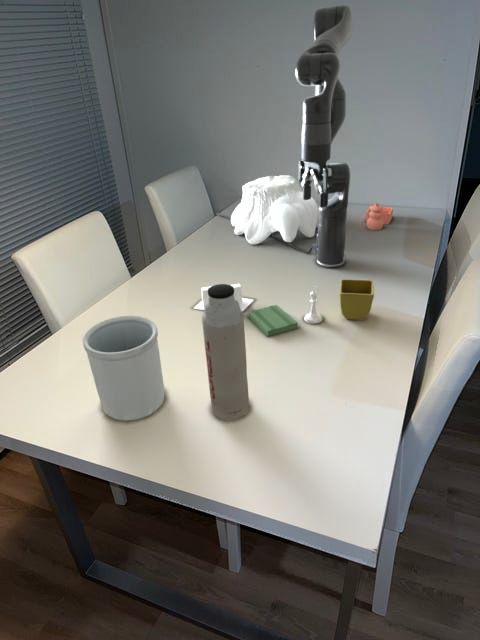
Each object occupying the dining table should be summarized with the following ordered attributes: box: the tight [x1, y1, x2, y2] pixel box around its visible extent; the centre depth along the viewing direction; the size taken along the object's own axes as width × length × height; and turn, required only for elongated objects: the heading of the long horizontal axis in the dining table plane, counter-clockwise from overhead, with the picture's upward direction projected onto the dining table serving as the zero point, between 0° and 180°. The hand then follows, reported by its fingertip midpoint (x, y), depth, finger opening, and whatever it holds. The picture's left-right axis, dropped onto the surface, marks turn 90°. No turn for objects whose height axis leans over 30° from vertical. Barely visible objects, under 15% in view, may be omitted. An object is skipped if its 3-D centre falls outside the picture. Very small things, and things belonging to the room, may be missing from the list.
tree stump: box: [230, 174, 319, 245], centre depth 197 cm, size 40×37×23 cm
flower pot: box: [339, 278, 375, 321], centre depth 132 cm, size 9×9×9 cm
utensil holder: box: [82, 315, 165, 422], centre depth 103 cm, size 15×15×18 cm
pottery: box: [365, 202, 394, 231], centre depth 199 cm, size 18×10×10 cm, turn 157°
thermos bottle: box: [201, 283, 250, 421], centre depth 97 cm, size 8×8×28 cm
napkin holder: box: [193, 283, 254, 313], centre depth 144 cm, size 15×11×6 cm
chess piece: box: [303, 285, 323, 325], centre depth 132 cm, size 5×5×10 cm
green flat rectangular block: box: [247, 304, 299, 337], centre depth 134 cm, size 12×9×2 cm
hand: (314, 203), depth 134 cm, fingers open, 8 cm apart
